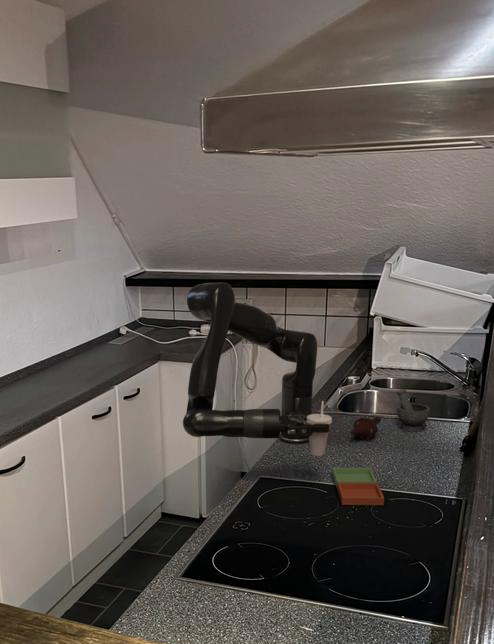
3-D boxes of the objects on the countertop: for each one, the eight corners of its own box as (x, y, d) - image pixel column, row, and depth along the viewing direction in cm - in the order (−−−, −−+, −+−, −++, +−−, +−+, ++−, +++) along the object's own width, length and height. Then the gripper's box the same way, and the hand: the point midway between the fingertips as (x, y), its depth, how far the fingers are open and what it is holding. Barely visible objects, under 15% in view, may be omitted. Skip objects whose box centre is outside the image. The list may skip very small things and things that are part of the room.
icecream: (365, 427, 225) (391, 420, 235) (344, 416, 229) (371, 410, 239) (357, 448, 228) (383, 440, 238) (337, 437, 233) (364, 429, 243)
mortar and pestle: (434, 428, 242) (437, 392, 238) (416, 435, 237) (420, 397, 233) (403, 421, 251) (407, 385, 246) (386, 427, 245) (389, 391, 241)
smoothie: (329, 458, 193) (333, 405, 188) (303, 456, 194) (307, 404, 189) (329, 449, 199) (333, 398, 193) (304, 448, 200) (307, 396, 195)
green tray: (332, 474, 208) (332, 467, 207) (370, 474, 207) (370, 467, 206) (336, 488, 199) (336, 481, 198) (376, 488, 198) (377, 481, 197)
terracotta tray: (336, 489, 198) (337, 482, 197) (377, 489, 197) (377, 482, 196) (341, 504, 188) (342, 497, 188) (383, 505, 188) (384, 498, 187)
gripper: (262, 417, 187) (331, 418, 185) (261, 401, 200) (325, 401, 199) (261, 446, 190) (329, 447, 188) (260, 428, 203) (324, 429, 201)
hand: (327, 423), depth 193 cm, fingers closed on smoothie, 6 cm apart
